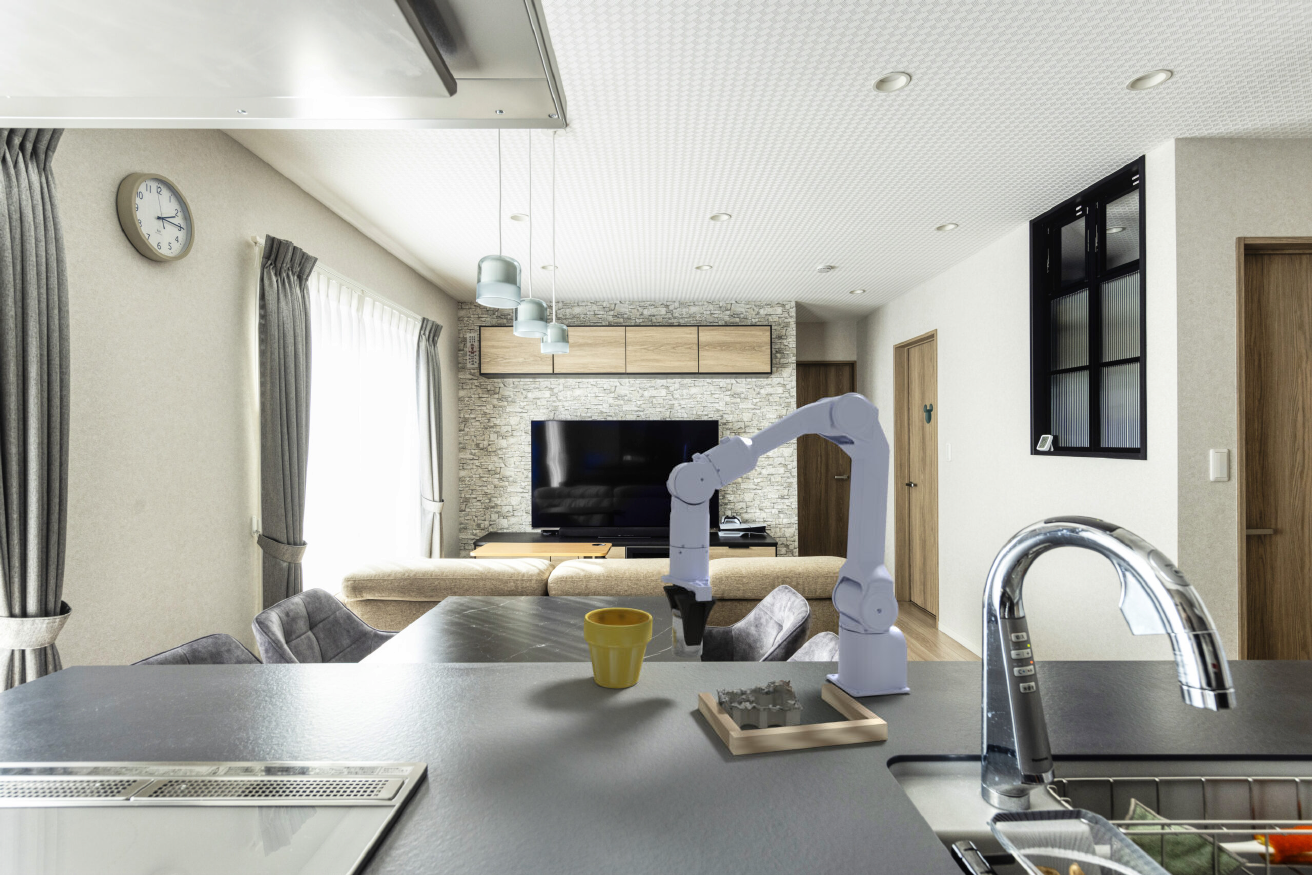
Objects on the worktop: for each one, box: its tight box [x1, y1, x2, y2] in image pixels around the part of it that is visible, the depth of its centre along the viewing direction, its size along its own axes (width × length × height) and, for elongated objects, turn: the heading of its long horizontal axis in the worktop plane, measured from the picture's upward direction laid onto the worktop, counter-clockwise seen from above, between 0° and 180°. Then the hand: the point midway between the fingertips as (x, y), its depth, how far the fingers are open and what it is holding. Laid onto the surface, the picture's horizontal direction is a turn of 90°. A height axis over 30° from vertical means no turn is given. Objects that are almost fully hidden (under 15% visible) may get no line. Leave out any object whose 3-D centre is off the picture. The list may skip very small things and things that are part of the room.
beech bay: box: [697, 682, 889, 756], centre depth 81 cm, size 20×14×2 cm
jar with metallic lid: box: [671, 607, 703, 658], centre depth 91 cm, size 5×5×6 cm
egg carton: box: [716, 679, 803, 729], centre depth 83 cm, size 11×8×4 cm
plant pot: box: [583, 607, 653, 689], centre depth 95 cm, size 10×10×10 cm
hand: (688, 639), depth 91 cm, fingers closed on jar with metallic lid, 4 cm apart
